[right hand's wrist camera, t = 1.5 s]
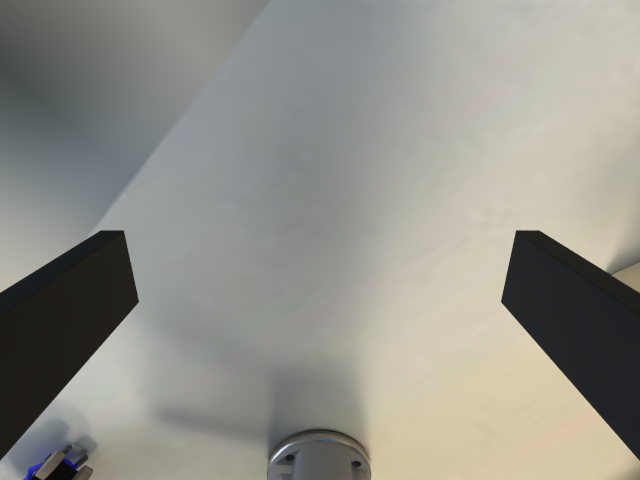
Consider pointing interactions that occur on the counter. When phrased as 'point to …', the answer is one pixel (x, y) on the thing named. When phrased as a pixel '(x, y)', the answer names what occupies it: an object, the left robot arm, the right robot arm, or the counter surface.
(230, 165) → the counter surface
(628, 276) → the chest
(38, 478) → the figurine character
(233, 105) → the counter surface
